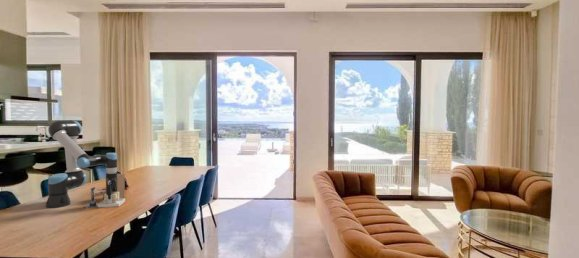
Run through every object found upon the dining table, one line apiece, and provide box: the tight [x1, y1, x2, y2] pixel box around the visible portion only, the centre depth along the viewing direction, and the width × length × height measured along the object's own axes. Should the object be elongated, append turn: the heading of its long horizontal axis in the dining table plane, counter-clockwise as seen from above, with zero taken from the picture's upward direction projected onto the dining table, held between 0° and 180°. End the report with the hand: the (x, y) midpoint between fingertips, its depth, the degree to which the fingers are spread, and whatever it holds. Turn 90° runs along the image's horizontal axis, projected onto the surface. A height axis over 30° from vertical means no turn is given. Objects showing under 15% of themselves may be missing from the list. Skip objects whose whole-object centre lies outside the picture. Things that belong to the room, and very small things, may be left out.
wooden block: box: [105, 173, 126, 199], centre depth 254 cm, size 10×10×20 cm
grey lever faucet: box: [83, 186, 100, 209], centre depth 234 cm, size 9×9×14 cm
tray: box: [97, 197, 126, 208], centre depth 239 cm, size 15×15×2 cm
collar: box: [102, 192, 119, 203], centre depth 239 cm, size 8×10×6 cm
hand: (111, 201), depth 239 cm, fingers closed on collar, 8 cm apart
